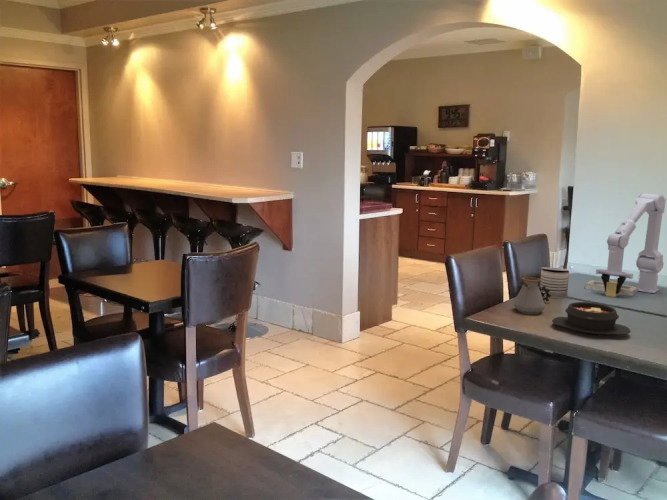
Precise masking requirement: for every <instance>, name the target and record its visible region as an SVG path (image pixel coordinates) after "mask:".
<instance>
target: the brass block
mask: <svg viewBox="0 0 667 500" xmlns="http://www.w3.org/2000/svg"><path fill="white" fill-rule="evenodd" d="M616 290H617V281H614V280H609V281H608V282H607V286H606V292H605V297H610V298H616V297H618V296H619V294H616Z"/></svg>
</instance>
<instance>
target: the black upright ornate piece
mask: <svg viewBox="0 0 667 500" xmlns="http://www.w3.org/2000/svg"><path fill="white" fill-rule="evenodd" d="M538 287H539V290H540V292H541V291H542V290H544V291H545V292H546V293H544V292H541V295H542V298H543V301H544V302H545V301H546V302H549V301H550V298H549V297H551V294H549V293H548V292H550V290H549V289H547V290H546V287H545V286H543V287H542V288H543V289H541V287H540V286H538ZM545 294H547V296H546V297H545Z"/></svg>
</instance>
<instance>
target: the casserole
mask: <svg viewBox="0 0 667 500" xmlns="http://www.w3.org/2000/svg"><path fill="white" fill-rule="evenodd" d="M565 313H566V315H567V316H557V317H555V318H553V319H551V320H552V321H551V322H552V323H553V324H554V325H556V326H558V327H562V328H567V329H570V330H573V331H574V332H578V333H580V334H585V335H588V336H590V335H591V336H605V335H606V336H607V335H615V336H616V335H617V336H625V335H629V334H630V333H631V329H630V328H629V327H628V326H626V325H622V324H619V323H616V322H617V320H618V319H619V317H620V316H619V315H618V313H617V310H616V309H615V308H614V307H612V306H609V305H606V304H601V303H596V302H588V301H587V302H586V301H581V302H580V301H578V302H577V301H576V302H571V303H569V304H568V306H567V307H566V308H565Z"/></svg>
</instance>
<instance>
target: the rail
mask: <svg viewBox="0 0 667 500" xmlns="http://www.w3.org/2000/svg"><path fill="white" fill-rule="evenodd" d="M584 289H586V290H591V291H597V292H605V287H604V283H603V281H600V280H593V279H591V280H589V281H586V282H585V283H584ZM638 292H639V291H638V286H633V285H632V286H631V285H625V284H623V285H622V287H621V289H620V292H619V294H618V295H622V296H629V297H634V296H635V295H637V294H638ZM605 293H606V292H605Z"/></svg>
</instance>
